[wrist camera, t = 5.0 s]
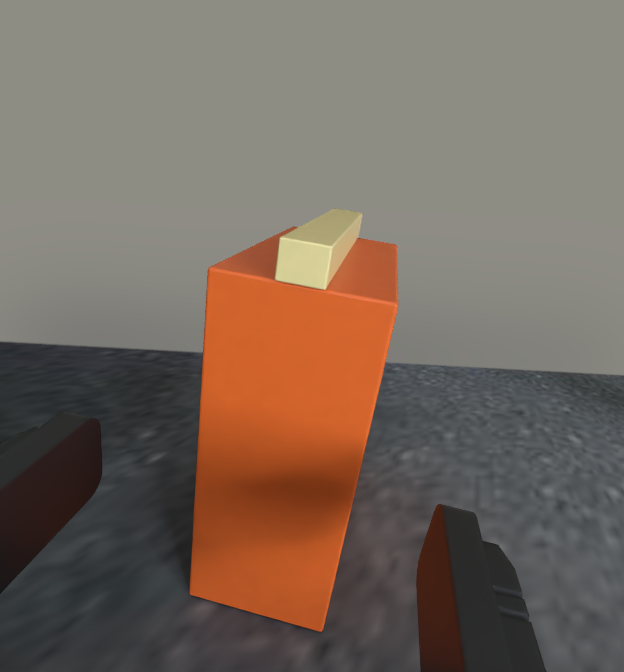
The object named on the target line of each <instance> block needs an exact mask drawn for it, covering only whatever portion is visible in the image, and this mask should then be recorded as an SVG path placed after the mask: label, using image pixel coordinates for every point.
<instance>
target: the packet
mask: <svg viewBox="0 0 624 672" xmlns="http://www.w3.org/2000/svg"><path fill="white" fill-rule="evenodd" d="M361 219H362V213H359V212H353V211H348V210H342V209H333V210H331V211H329V212H327V213H325V214H323V215H321V216H320V217H318V218H316V219H314V220H312V221H310V222H308V223H306V224H304V225H302V226H300V227H292V228H289V229H287V230H285V231H283V232H281V233H279V234H277V235H275V236H273V237H271V238H269V239H266V240H264V241H262V242H260V243H258V244H256V245H254V246H252V247H250V248H248V249H246V250H244V251H242V252H240V253H238V254H236V255H234V256H232V257H230V258H228V259H225V260H223V261H221V262H219V263H217V264H215V265H213V266H211V267H209V269H208V277H207V295H206V311H205V330H204V346H203V347H204V348H203V363H202V381H201V398H200V416H199V433H198V450H197V468H196V485H195V503H194V520H193V537H192V555H191V572H190V589H189V593H190V595H193V596H196V597H200V598H203V599H207V600H210V601H214V602H217V603H221V604H224V605H228V606H231V607H235V608H238V609H242V610H245V611H249V612H252V613H256V614H259V615H263V616H266V617H270V618H273V619H277V620H280V621H284V622H287V623H291V624H294V625H298V626H301V627H305V628H308V629H312V630H315V631H319V632H322V630H323V628H324V624H325V619H326V615H327V611H328V606H329V602H330V598H331V594H332V589H333V585H334V581H335V576H336V572H337V568H338V564H339V559H340V555H341V551H342V546H343V542H344V538H345V534H346V529H347V525H348V521H349V516H350V512H351V508H352V503H353V499H354V495H355V491H356V486H357V482H358V478H359V473H360V469H361V465H362V461H363V456H364V452H365V448H366V443H367V439H368V435H369V431H370V426H371V422H372V418H373V413H374V409H375V405H376V400H377V396H378V392H379V388H380V383H381V379H382V375H383V370H384V366H385V362H386V357H387V353H388V349H389V344H390V340H391V336H392V332H393V328H394V323H395V319H396V315H397V310H398V273H397V245H395V244H389V243H384V242H378V241H373V240H367V239H361V238H358V236H359V231H360V225H361Z"/></svg>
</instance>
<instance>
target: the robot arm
mask: <svg viewBox="0 0 624 672" xmlns="http://www.w3.org/2000/svg"><path fill="white" fill-rule="evenodd" d="M101 476H102V453H101V430H100V423H99V421H98V420H97V419H95V418H91V417H87V416H83V415H78V414H74V413H70V412H62V413H60V414H58V415H56V416H55V417H54V418H52V419H51V420H49V421H48V422H47V423H45V424H44V425H42V426H41V427H40V428H37V427H35V428H32V429H30V430H27V431H25V432H22V433H20V434H17V435H15V436H12V437H10V438H8V439H6V440H5V441H4V442H2V443H1V444H0V593H1V592H2V591H3V590H4V589H5V588H6V587H7V586H8V585H9V584H10V583H11V582H12V581H13V580H14V579H15V577H16V576H17V575H18V574H19V573H20V572H21V571H22V570H23V569H24V568H25V567H26V566H27V565H28V564H29V563H30V562H31V560H32V559H33V558H34V557H35V556H36V555H37V554H38V553H39V552H40V551H41V550H42V549H43V548H44V547H45V546H46V545H47V544H48V542H49V541H50V540H51V539H52V538H53V537H54V536H55V535H56V534H57V533H58V532H59V531H60V530H61V529H62V528H63V527H64V526H65V524H66V523H67V522H68V521H69V520H70V519H71V518H72V517H73V516H74V515H75V514H76V513H77V512H78V511H79V510H80V509H81V508H82V506H83V505H84V504H85V503H86V502H87V501H88V500H89V499H90V498H91V497H92V496H93V494H94V493H95V491H96V489H97V487H98V485H99V483H100V480H101ZM416 587H417V607H418V626H419V646H420V665H421V672H546V670H545V667H544V663H543V660H542V657H541V653H540V650H539V647H538V644H537V640H536V637H535V634H534V630H533V627H532V624H531V622H529V614H528V611H527V607H526V604H525V601H524V599H522V595H523V594H522V591H521V588H520V584H519V581H518V578H517V574H516V571H515V568H514V567H513V565H512V564H511V563H510V561H509V560H508V558H507V557H506V556H505V554H504V553H503V551H502V550H501V548H500V547H499V546H498V545H497V544H493V543H489V542H485V541H482V537H481V533H480V529H479V525H478V520H477V517H476V515H475V513H473V512H470V511H466V510H462V509H458V508H454V507H450V506H446V505H441V504H438V505H437V507H436V509H435V511H434V514H433V517H432V520H431V523H430V526H429V529H428V532H427V535H426V538H425V541H424V544H423V547H422V550H421V554H420V557H419V562H418V568H417V580H416Z"/></svg>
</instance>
